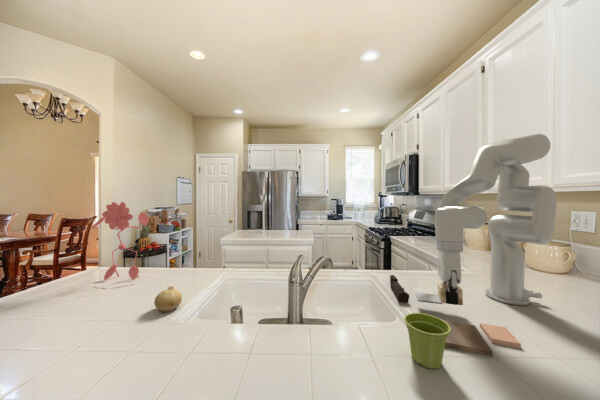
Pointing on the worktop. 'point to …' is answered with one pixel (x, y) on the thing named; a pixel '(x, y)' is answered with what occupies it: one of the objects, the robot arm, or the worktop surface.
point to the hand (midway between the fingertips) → (450, 300)
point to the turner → (439, 295)
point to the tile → (500, 335)
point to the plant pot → (427, 338)
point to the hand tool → (398, 290)
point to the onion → (168, 300)
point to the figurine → (120, 218)
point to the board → (467, 339)
